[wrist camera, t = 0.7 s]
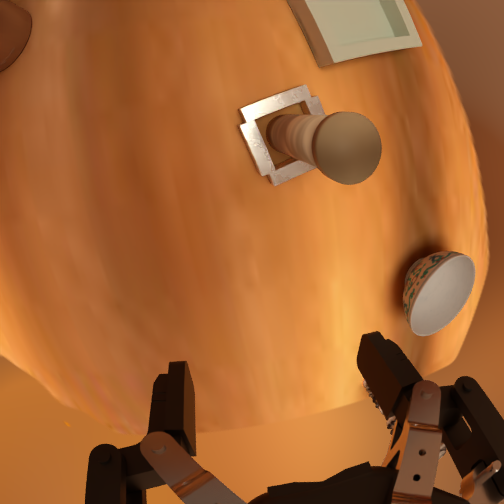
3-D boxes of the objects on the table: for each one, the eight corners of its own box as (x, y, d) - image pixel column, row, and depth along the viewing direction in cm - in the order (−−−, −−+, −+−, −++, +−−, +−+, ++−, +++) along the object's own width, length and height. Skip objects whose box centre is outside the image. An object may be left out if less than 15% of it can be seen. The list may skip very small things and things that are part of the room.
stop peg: (256, 121, 30) (306, 126, 17) (296, 106, 30) (369, 103, 16) (273, 161, 32) (331, 195, 19) (311, 145, 32) (388, 169, 19)
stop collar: (231, 112, 29) (233, 112, 27) (305, 84, 29) (312, 82, 27) (263, 185, 33) (268, 189, 31) (332, 155, 33) (339, 157, 31)
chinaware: (454, 268, 47) (480, 288, 40) (403, 322, 49) (425, 347, 43) (433, 217, 40) (465, 236, 33) (371, 282, 43) (397, 310, 36)
